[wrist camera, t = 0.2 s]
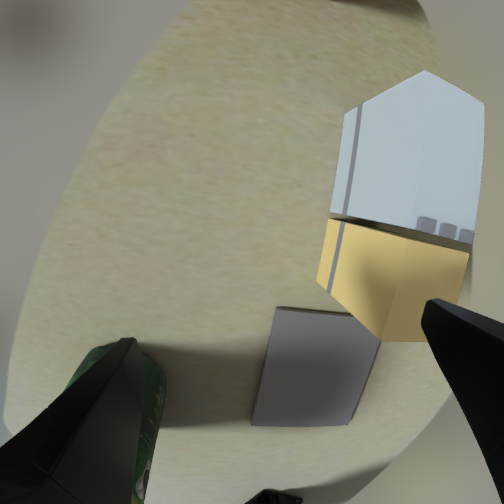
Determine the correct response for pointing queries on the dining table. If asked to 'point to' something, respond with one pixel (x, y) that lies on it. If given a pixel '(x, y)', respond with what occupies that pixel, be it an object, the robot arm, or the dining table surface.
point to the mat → (313, 369)
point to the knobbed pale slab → (413, 159)
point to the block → (388, 277)
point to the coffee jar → (149, 420)
